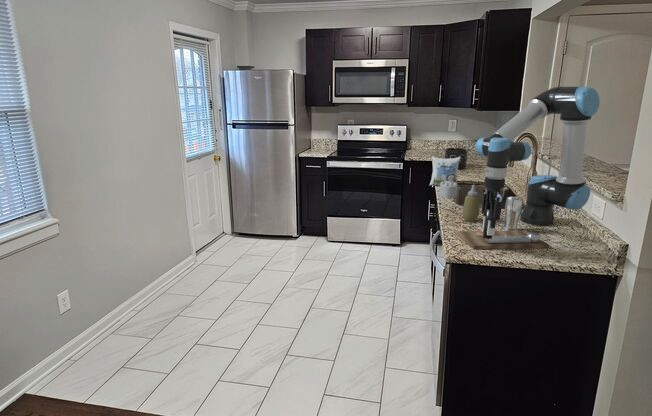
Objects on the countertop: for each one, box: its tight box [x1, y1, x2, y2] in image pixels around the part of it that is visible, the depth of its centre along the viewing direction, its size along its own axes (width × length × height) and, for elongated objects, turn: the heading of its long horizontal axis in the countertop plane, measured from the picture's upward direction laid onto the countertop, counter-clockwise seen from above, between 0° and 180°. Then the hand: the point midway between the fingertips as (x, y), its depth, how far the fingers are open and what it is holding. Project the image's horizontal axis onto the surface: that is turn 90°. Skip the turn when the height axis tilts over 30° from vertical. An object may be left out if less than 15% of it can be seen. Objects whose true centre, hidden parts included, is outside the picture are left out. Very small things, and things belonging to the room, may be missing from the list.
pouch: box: [428, 156, 461, 186], centre depth 279 cm, size 8×19×20 cm, turn 86°
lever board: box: [456, 229, 550, 250], centre depth 181 cm, size 32×20×2 cm, turn 95°
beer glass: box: [503, 196, 524, 231], centre depth 193 cm, size 7×7×15 cm
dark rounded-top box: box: [444, 147, 469, 171], centre depth 345 cm, size 18×18×16 cm
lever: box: [483, 208, 542, 243], centre depth 173 cm, size 24×5×14 cm, turn 95°
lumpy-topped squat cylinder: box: [438, 181, 459, 199], centre depth 255 cm, size 10×13×9 cm
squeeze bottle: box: [462, 184, 481, 223], centre depth 206 cm, size 8×8×18 cm
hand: (488, 233), depth 173 cm, fingers closed on lever, 4 cm apart
